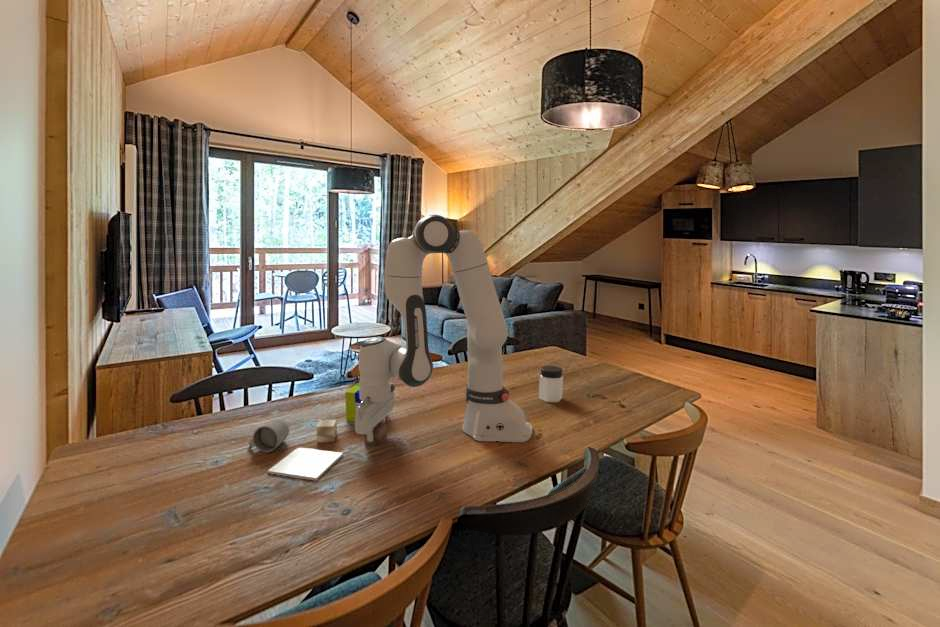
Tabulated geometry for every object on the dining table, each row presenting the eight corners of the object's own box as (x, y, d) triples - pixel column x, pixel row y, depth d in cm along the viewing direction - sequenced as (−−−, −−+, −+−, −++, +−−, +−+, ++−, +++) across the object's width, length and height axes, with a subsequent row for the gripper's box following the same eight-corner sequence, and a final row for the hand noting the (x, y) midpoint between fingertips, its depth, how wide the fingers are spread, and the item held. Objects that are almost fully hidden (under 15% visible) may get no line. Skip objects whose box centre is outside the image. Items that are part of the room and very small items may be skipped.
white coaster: (343, 455, 133) (342, 452, 133) (316, 480, 120) (316, 477, 120) (298, 449, 136) (298, 447, 136) (267, 473, 123) (267, 470, 123)
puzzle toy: (374, 423, 156) (373, 394, 154) (346, 420, 158) (345, 392, 156) (385, 412, 165) (385, 385, 164) (359, 409, 167) (358, 382, 166)
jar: (543, 393, 187) (545, 364, 185) (564, 397, 183) (565, 367, 181) (536, 400, 179) (537, 369, 177) (557, 404, 175) (558, 373, 173)
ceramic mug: (291, 440, 142) (289, 416, 141) (278, 452, 134) (276, 427, 133) (257, 439, 143) (255, 415, 142) (242, 451, 135) (240, 426, 134)
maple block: (336, 434, 147) (336, 419, 146) (334, 441, 142) (333, 426, 141) (320, 435, 146) (319, 420, 145) (317, 442, 141) (316, 426, 141)
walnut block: (386, 438, 145) (386, 423, 144) (380, 445, 140) (379, 429, 139) (371, 436, 146) (371, 421, 145) (364, 443, 141) (364, 427, 140)
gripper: (369, 405, 129) (370, 452, 132) (397, 382, 149) (397, 423, 152) (348, 403, 131) (349, 449, 133) (378, 380, 151) (379, 421, 153)
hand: (375, 435), depth 143 cm, fingers closed on walnut block, 5 cm apart
